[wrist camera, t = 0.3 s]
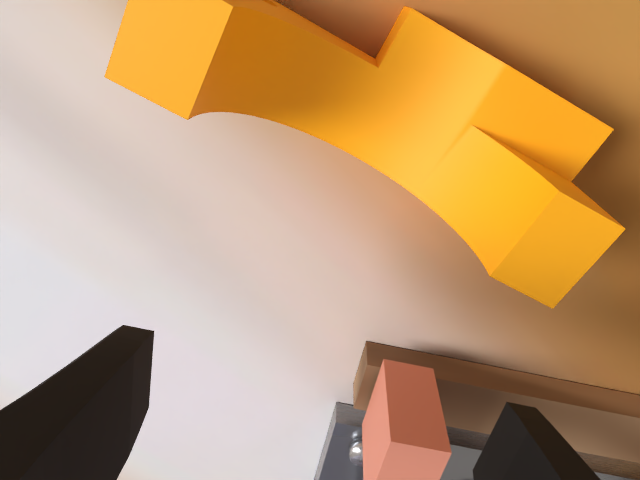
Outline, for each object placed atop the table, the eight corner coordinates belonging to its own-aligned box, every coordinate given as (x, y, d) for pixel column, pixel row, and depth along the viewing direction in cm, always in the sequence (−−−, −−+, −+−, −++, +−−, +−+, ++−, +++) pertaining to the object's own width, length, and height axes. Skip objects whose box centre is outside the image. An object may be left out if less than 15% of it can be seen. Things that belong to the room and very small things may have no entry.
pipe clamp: (568, 105, 17) (683, 165, 11) (489, 209, 18) (552, 308, 13) (243, -92, 15) (173, -145, 9) (190, 47, 17) (104, 77, 11)
